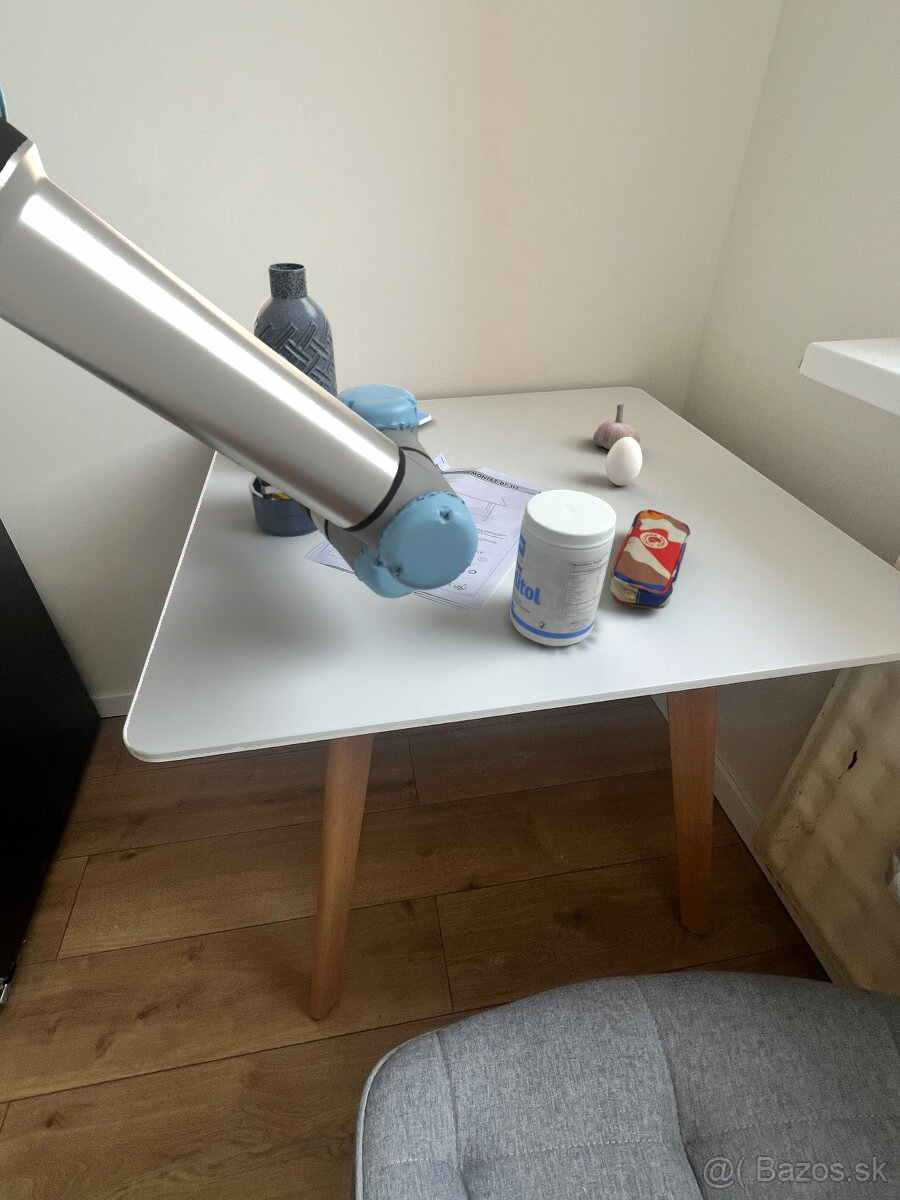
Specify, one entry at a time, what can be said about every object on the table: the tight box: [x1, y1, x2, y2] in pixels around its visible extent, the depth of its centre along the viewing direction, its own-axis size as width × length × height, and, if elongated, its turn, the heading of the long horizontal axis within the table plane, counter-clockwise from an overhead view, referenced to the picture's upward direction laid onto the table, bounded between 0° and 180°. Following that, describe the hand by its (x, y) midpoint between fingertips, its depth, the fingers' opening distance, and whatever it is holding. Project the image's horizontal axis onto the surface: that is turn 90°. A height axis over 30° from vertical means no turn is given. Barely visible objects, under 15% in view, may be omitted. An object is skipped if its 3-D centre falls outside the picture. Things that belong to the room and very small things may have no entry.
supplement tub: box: [509, 489, 617, 647], centre depth 75 cm, size 10×10×15 cm
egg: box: [605, 437, 643, 486], centre depth 106 cm, size 5×5×8 cm
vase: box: [253, 262, 339, 398], centre depth 103 cm, size 12×12×28 cm
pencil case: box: [609, 508, 691, 610], centre depth 87 cm, size 11×20×5 cm, turn 142°
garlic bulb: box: [592, 401, 641, 451], centre depth 117 cm, size 8×7×8 cm
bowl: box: [248, 475, 319, 537], centre depth 94 cm, size 10×10×6 cm
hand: (268, 427), depth 93 cm, fingers closed on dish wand, 3 cm apart
